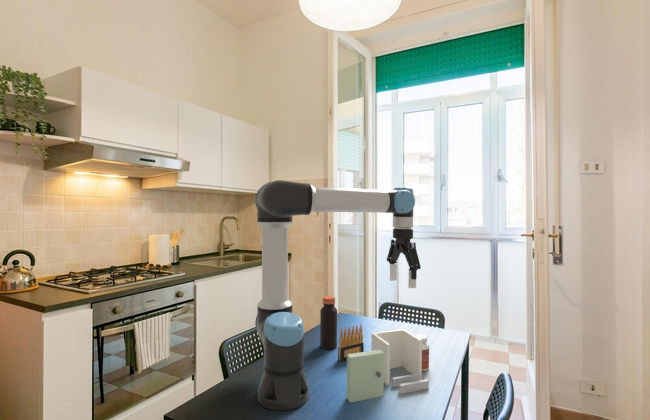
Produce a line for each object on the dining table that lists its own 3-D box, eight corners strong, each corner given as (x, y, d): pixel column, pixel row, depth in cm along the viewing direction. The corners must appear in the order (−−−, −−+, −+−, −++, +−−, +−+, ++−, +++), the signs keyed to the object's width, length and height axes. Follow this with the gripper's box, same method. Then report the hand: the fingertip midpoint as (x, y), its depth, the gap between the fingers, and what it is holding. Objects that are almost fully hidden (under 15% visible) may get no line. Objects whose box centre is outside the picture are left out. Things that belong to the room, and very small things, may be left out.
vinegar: (336, 343, 143) (337, 295, 143) (336, 350, 137) (337, 299, 137) (320, 343, 144) (321, 295, 144) (319, 349, 137) (320, 299, 137)
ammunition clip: (340, 362, 126) (340, 329, 126) (337, 360, 128) (338, 327, 128) (364, 355, 132) (364, 324, 132) (361, 354, 133) (361, 323, 133)
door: (351, 404, 99) (351, 359, 99) (346, 398, 102) (346, 354, 102) (385, 397, 103) (385, 354, 103) (379, 391, 106) (379, 349, 106)
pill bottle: (432, 370, 120) (432, 339, 120) (416, 372, 119) (416, 340, 119) (423, 363, 126) (423, 332, 126) (407, 364, 125) (408, 333, 125)
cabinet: (396, 395, 104) (397, 352, 104) (371, 370, 120) (371, 333, 120) (432, 387, 108) (433, 346, 108) (403, 365, 124) (403, 329, 124)
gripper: (431, 230, 120) (430, 290, 121) (395, 226, 144) (394, 277, 144) (412, 230, 118) (411, 292, 118) (378, 226, 142) (378, 278, 142)
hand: (402, 284), depth 131 cm, fingers open, 13 cm apart
